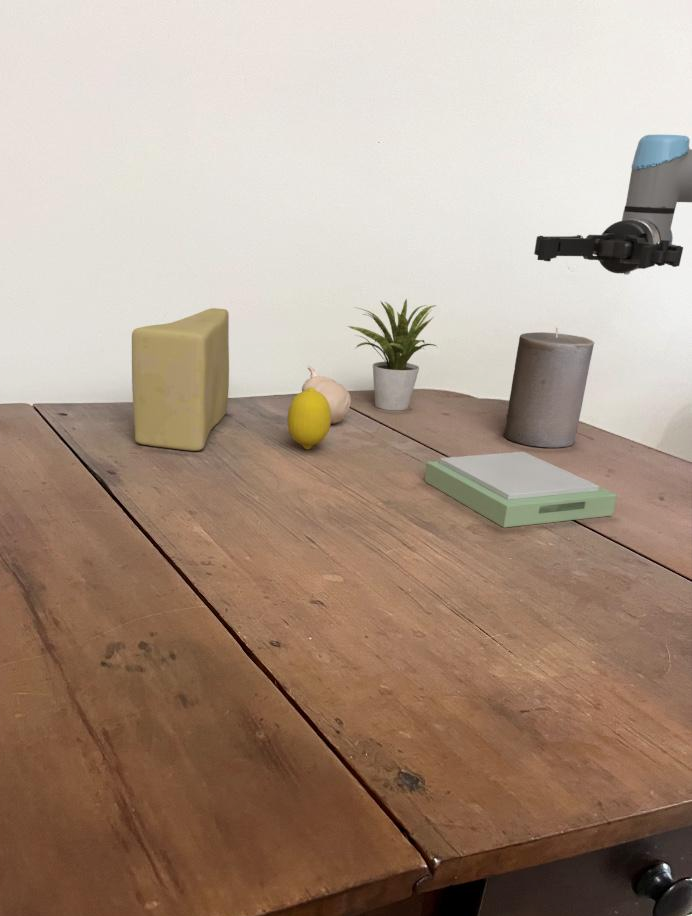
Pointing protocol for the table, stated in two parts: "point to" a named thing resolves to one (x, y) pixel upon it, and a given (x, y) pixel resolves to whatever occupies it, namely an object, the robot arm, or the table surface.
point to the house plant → (396, 357)
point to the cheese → (180, 380)
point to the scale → (518, 489)
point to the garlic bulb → (330, 394)
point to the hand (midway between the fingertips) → (590, 253)
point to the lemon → (309, 418)
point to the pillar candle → (548, 389)
